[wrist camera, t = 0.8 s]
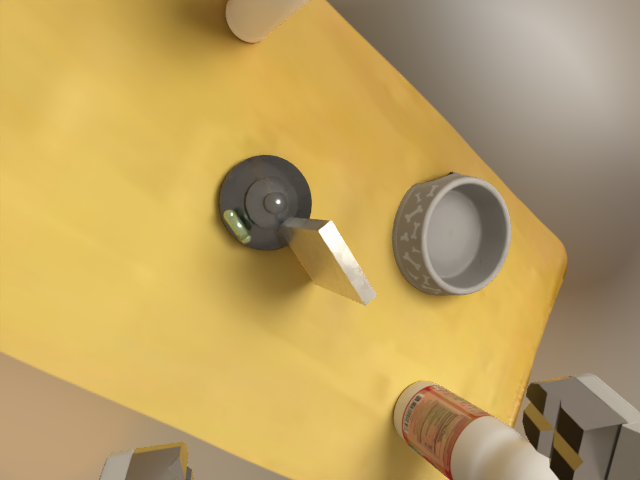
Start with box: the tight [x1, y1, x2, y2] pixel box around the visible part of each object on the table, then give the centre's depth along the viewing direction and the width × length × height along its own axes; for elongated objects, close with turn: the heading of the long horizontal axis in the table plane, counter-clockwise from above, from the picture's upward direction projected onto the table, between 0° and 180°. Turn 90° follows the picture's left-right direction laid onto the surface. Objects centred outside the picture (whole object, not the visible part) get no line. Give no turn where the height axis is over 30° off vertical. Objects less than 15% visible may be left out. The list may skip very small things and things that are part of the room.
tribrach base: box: [219, 155, 312, 250], centre depth 49 cm, size 11×11×2 cm
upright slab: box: [244, 176, 377, 306], centre depth 45 cm, size 14×6×12 cm, turn 35°
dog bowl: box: [392, 172, 511, 295], centre depth 60 cm, size 17×18×5 cm
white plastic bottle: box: [394, 381, 559, 480], centre depth 50 cm, size 9×9×28 cm
